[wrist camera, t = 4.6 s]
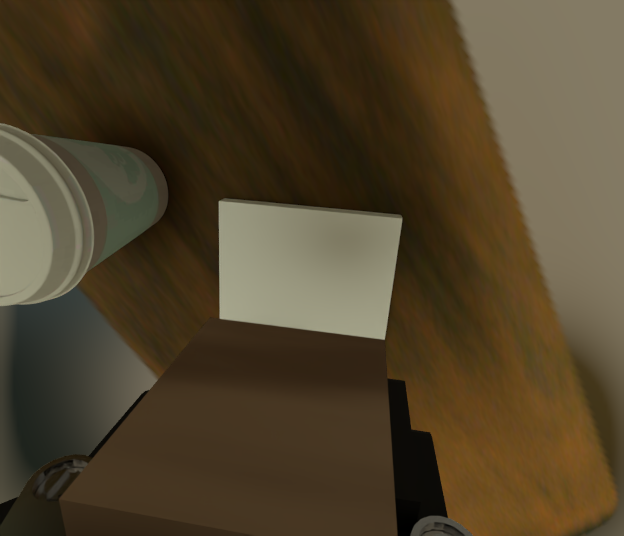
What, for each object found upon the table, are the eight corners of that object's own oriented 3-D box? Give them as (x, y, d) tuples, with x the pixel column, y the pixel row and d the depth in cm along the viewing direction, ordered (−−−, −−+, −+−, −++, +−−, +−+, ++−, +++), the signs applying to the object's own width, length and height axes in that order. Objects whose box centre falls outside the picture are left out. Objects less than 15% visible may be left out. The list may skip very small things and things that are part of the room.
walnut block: (210, 317, 12) (58, 499, 6) (385, 339, 11) (399, 562, 5) (213, 452, 13) (98, 691, 8) (364, 476, 13) (359, 753, 7)
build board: (225, 198, 28) (218, 201, 26) (401, 214, 26) (402, 218, 25) (225, 392, 33) (220, 402, 32) (372, 414, 32) (372, 425, 30)
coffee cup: (211, 191, 28) (101, 233, 16) (141, 269, 30) (5, 350, 19) (117, 96, 26) (-72, 70, 15) (52, 186, 29) (-148, 221, 18)
